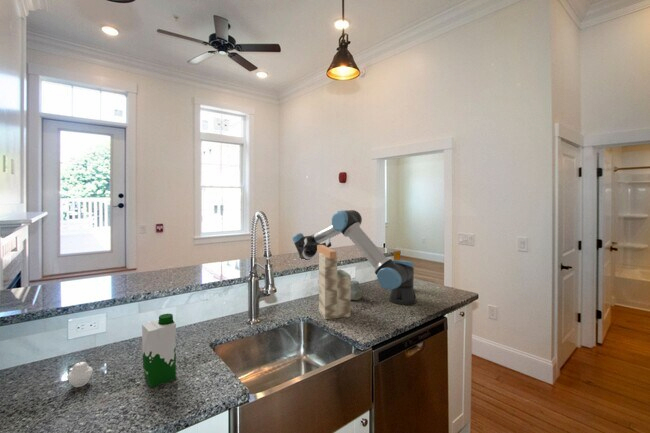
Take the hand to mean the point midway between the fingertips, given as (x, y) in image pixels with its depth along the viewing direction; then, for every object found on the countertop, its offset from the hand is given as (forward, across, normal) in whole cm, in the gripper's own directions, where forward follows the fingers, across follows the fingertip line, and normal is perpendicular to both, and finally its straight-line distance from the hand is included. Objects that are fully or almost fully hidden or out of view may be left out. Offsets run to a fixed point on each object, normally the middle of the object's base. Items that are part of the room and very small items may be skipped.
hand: (318, 240), depth 175 cm
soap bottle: (-21, -55, -27) cm, 65 cm away
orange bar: (+17, +2, -14) cm, 22 cm away
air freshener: (-12, -21, -32) cm, 40 cm away
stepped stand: (+4, -2, -41) cm, 41 cm away
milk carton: (+37, +69, -60) cm, 99 cm away
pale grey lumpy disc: (+34, +92, -58) cm, 114 cm away
